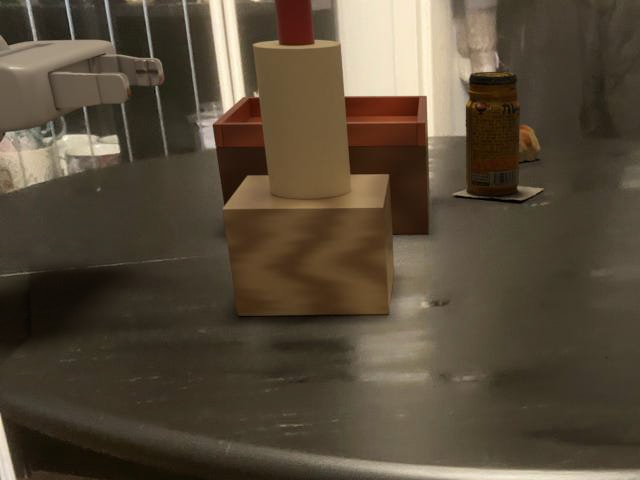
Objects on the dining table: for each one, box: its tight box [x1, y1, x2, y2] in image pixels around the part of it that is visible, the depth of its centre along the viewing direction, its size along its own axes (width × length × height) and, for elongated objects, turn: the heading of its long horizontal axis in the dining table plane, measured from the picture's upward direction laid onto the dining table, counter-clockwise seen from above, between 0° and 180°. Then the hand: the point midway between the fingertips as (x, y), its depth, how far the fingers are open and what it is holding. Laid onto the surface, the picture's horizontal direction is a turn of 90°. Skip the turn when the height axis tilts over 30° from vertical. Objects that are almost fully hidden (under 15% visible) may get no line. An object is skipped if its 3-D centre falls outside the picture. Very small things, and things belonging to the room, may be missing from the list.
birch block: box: [221, 174, 395, 317], centre depth 80 cm, size 12×12×8 cm
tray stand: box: [212, 95, 431, 235], centre depth 102 cm, size 20×18×10 cm
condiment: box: [452, 71, 544, 201], centre depth 109 cm, size 7×8×12 cm
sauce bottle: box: [252, 0, 351, 199], centre depth 74 cm, size 6×6×13 cm
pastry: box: [519, 124, 541, 163], centre depth 127 cm, size 9×7×4 cm
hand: (145, 79), depth 73 cm, fingers open, 8 cm apart
